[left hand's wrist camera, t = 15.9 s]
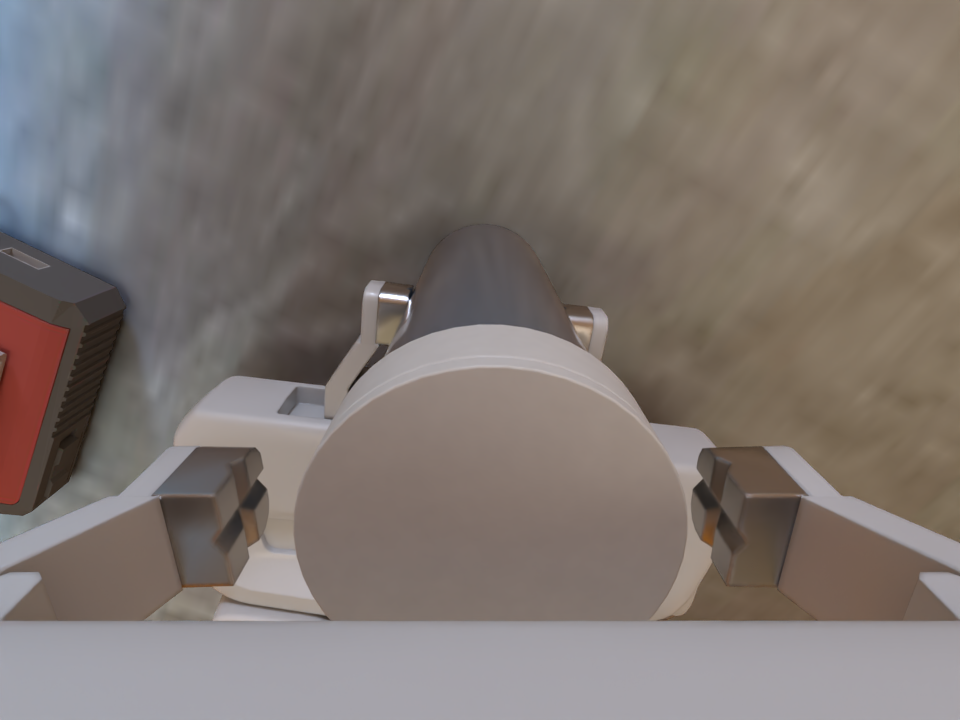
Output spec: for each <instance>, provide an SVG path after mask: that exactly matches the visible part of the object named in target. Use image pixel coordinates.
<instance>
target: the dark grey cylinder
mask: <svg viewBox="0 0 960 720" xmlns="http://www.w3.org/2000/svg"><path fill="white" fill-rule="evenodd" d="M471 325H509V326H517V327H524V328H529V329H533V330H537V331H541V332H544V333H548V334H551V335H554V336H556V337H558V338H561V339H563V340H566V341H568V342H571V343H573V344H574V345H576V346H578V347H580V348H581V349H583V350H585V351H586V352H587V350H586V348H585V346H584V345H583V343H582V341H581V339H580V337H579V335H578V333H577V331H576V329H575V327H574V325H573V324H572V322H571V320H570V318H569V316H568V314H567V312H566V310H565V308H564V306H563V305H562V303H561V301H560V299H559V297H558V295H557V293H556V291H555V289H554V287H553V285H552V284H551V282H550V280H549V278H548V276H547V274H546V272H545V270H544V268H543V266H542V265H541V263H540V261H539V259H538V257H537V255H536V253H535V252H534V250H533V249H532V248H531V246H530V245H529V244H528V243H527V242H526V241H525V240H524V239H523V238H522V237H520V236H519V235H518V234H516V233H514V232H512V231H511V230H508V229H506V228H503V227H500V226H496V225H489V224H478V225H471V226H467V227H464V228H461V229H459V230H457V231H455V232H453V233H451V234H450V235H448V236H447V237H446V238H444V239H443V240H442V241H441V242H440V243H439V244H438V245H437V246H436V247H435V249H434V250H433V252H432V253H431V255H430V257H429V259H428V261H427V263H426V265H425V267H424V270H423V272H422V274H421V276H420V278H419V281H418V283H417V285H416V287H415V289H414V291H413V294H412V296H411V298H410V300H409V302H408V305H407V307H406V309H405V311H404V313H403V316H402V318H401V320H400V322H399V324H398V326H397V329H396V331H395V333H394V335H393V337H392V340H391V342H390V344H389V346H388V348H387V351H386V353H385V355H384V357H385V356H386V355H388V354H389V353H391V352H392V351H394V350H396V349H398V348H400V347H401V346H403V345H405V344H407V343H409V342H411V341H413V340H416V339H418V338H421V337H423V336H426V335H428V334H431V333H435V332H439V331H442V330H446V329H450V328H454V327H462V326H471ZM384 357H383V358H384Z"/></svg>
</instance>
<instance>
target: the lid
mask: <svg viewBox="0 0 960 720" xmlns="http://www.w3.org/2000/svg"><path fill="white" fill-rule="evenodd" d="M687 522H688V514H687V507H686V501H685V494H684V491H683V488H682V484H681V481H680V478H679V475H678V472H677V470H676V468H675V466H674V464H673V462H672V460H671V458H670V456H669V455H668V453H667V451H666V449H665V448H664V446H663V444H662V443H661V441H660V440H659V438H658V436H657V435H656V433H655V431H654V430H653V428H652V426H651V425H650V423H649V422H648V420H647V418H646V417H645V415H644V413H643V412H642V410H641V409H640V407H639V405H638V404H637V402H636V400H635V399H634V397H633V396H632V395H631V393H630V392H629V390H628V389H627V388H626V386H625V385H624V384H623V382H622V381H621V380H620V379H619V378H618V377H617V376H616V375H615V374H614V373H613V372H612V371H611V370H610V369H609V368H608V367H607V366H606V365H604V364H603V363H602V362H600V361H599V360H598V359H597V358H595V357H594V356H593V355H591V354H590V353H588V352H586V351H585V350H583V349H581V348H580V347H578V346H576V345H574V344H573V343H571V342H568V341H566V340H563V339H561V338H558V337H556V336H554V335H551V334H548V333H544V332H541V331H537V330H533V329H529V328H524V327H517V326H509V325H471V326H462V327H454V328H450V329H446V330H442V331H439V332H435V333H431V334H428V335H426V336H423V337H421V338H418V339H416V340H413V341H411V342H409V343H407V344H405V345H403V346H401V347H400V348H398V349H396V350H394V351H392V352H391V353H389V354H388V355H386V356H385V357H384V358H382V359H381V360H380V361H378V362H377V363H376V364H374V365H373V366H372V367H371V368H370V369H369V370H368V371H367V372H366V373H365V374H364V375H363V376H362V377H361V378H360V379H359V380H358V381H357V382H356V383H355V385H354V386H353V387H352V388H351V390H350V391H349V392H348V394H347V395H346V396H345V398H344V400H343V401H342V403H341V405H340V407H339V409H338V411H337V412H336V414H335V416H334V418H333V420H332V422H331V424H330V425H329V427H328V429H327V431H326V433H325V435H324V437H323V438H322V440H321V442H320V444H319V446H318V448H317V450H316V451H315V453H314V455H313V457H312V459H311V461H310V463H309V464H308V466H307V468H306V470H305V472H304V475H303V478H302V481H301V484H300V486H299V489H298V492H297V498H296V503H295V509H294V529H293V535H294V542H295V549H296V555H297V559H298V562H299V566H300V569H301V572H302V575H303V578H304V580H305V582H306V584H307V586H308V588H309V590H310V592H311V594H312V596H313V597H314V599H315V600H316V602H317V603H318V605H319V606H320V608H321V609H322V611H323V612H324V613H325V614H326V616H327V617H328V618H329V619H330V620H331V621H648V620H649V619H650V618H651V617H652V616H653V615H654V614H655V613H656V611H657V610H658V608H659V607H660V606H661V604H662V603H663V601H664V600H665V599H666V597H667V596H668V594H669V592H670V590H671V588H672V586H673V584H674V582H675V580H676V578H677V575H678V573H679V570H680V567H681V564H682V561H683V558H684V552H685V547H686V541H687Z"/></svg>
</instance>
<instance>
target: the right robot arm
mask: <svg viewBox="0 0 960 720" xmlns="http://www.w3.org/2000/svg"><path fill="white" fill-rule="evenodd" d="M412 294H413V286H412V285H405V284H398V283H391V282H385V281H376V280H371V281H370V282H369V283H368V285H367V286H366V287H365V291H364V296H363V301H362V320H361V334H360V336H359V337H358V339H357V340H356V342H355V343H354V344H353V346H352V347H351V349H350V350H349V351H348V353H347V354H346V356H345V357H344V358H343V360H342V361H341V363H340V364H339V366H338V367H337V369H336V370H335V372H334V373H333V375H332V377H331V378H330V380H329V381H328V383H327V384H326V386H323V385H314V384H306V383H297V382H288V381H280V380H271V379H262V378H254V377H246V376H232V377H229V378H227V379H225V380H224V381H222V382H221V383H220V384H219V385H217V386H216V387H215V388H214V389H212V390H211V391H210V392H209V393H207V394H206V395H205V396H204V397H203V398H202V399H201V400H199V401H198V402H197V403H196V404H195V405H194V407H193V408H192V409H191V410H190V411H189V412H188V413H187V414H186V415H185V417H184V418H183V419H182V421H181V422H180V424H179V426H178V427H177V430H176V432H175V435H174V444H173V447H175V446H201V447H202V446H216V447H256V448H257V449H258V451H259V452H260V453H261V458H262V462H263V467H264V469H263V470H262V472H261V473H260V475H259V476H258V478H257V479H258V480H259V481H260V482H261V483H262V484H263V485H264V486H265V487H266V488H267V490H268V497H269V515H268V520H267V524H266V528H265V530H264V532H263V534H262V536H261V538H260V540H259V541H257V542H256V543H254V544H253V545H251V546H250V547H248V552H249V560H248V561H247V563H246V565H245V567H244V569H243V570H242V572H241V574H240V576H239V577H238V579H237V581H236V583H235V584H234V586H217V587H213V588H214V589H215V590H216V591H218V592H219V593H221V594H223V595H222V597H221V599H220V602H219V604H218V607H217V610H216V612H215V615H214V617H213V620H212V621H331V620H330V619H329V618H328V617H327V616H326V614H325V613H324V612H323V611H322V609H321V608H320V606H319V605H318V603H317V602H316V600H315V599H314V597H313V596H312V594H311V592H310V590H309V588H308V586H307V584H306V582H305V580H304V578H303V575H302V572H301V569H300V566H299V562H298V559H297V555H296V549H295V542H294V535H293V529H294V509H295V503H296V498H297V492H298V489H299V486H300V484H301V481H302V478H303V475H304V472H305V470H306V468H307V466H308V464H309V463H310V461H311V459H312V457H313V455H314V453H315V451H316V450H317V448H318V446H319V444H320V442H321V440H322V438H323V437H324V435H325V433H326V431H327V429H328V427H329V425H330V424H331V422H332V420H333V418H334V416H335V414H336V412H337V411H338V409H339V407H340V405H341V403H342V401H343V400H344V398H345V396H346V395H347V394H348V392H349V391H350V390H351V388H352V387H353V386H354V385H355V383H356V382H357V381H358V380H359V379H360V378H361V377H362V376H363V375H364V374H365V373H366V372H367V371H368V370H369V369H370V368H367V367H364V366H365V365H366V364H367V362H368V361H369V359H370V358H371V357H372V355H373V354H374V352H375V351H376V350H377V348H378V347H379V345H380V344H382V345H389V344H390V342H391V340H392V337H393V335H394V333H395V331H396V329H397V326H398V324H399V322H400V320H401V318H402V316H403V313H404V311H405V309H406V307H407V305H408V302H409V300H410V298H411V296H412ZM562 305H563V306H564V308H565V310H566V312H567V314H568V316H569V318H570V320H571V322H572V324H573V325H574V327H575V329H576V331H577V333H578V335H579V337H580V339H581V341H582V343H583V345H584V346H585V348H586V350H587V352H588V353H590V354H591V355H593V356H594V357H595V358H597V359H598V360H599V361H600V362H601V360H602V355H603V351H604V346H605V342H606V337H607V333H608V317H607V315H606V314H605V313H604V311H603V310H602V309H601V308H595V307H587V306H578V305H569V304H562ZM650 425H651V426H652V428H653V430H654V431H655V433H656V435H657V436H658V438H659V440H660V441H661V443H662V444H663V446H664V448H665V449H666V451H667V453H668V455H669V456H670V458H671V460H672V462H673V464H674V466H675V468H676V470H677V472H678V475H679V478H680V481H681V484H682V488H683V491H684V494H685V501H686V507H687V514H688V522H687V541H686V547H685V552H684V558H683V561H682V564H681V567H680V570H679V573H678V575H677V578H676V580H675V582H674V584H673V586H672V588H671V590H670V592H669V594H668V596H667V597H666V599H665V600H664V601H663V603H662V604H661V606H660V607H659V608H658V610H657V611H656V613H655V614H654V615H653V616H652V617H651V618H650V619H649V620H648V621H663V620H667V619H669V618H672V617H674V616H680V615H683V614H685V613H686V612H687V611H688V609H689V608H690V606H691V605H692V603H693V600H694V597H695V594H696V591H697V589H698V586H699V584H700V583H701V581H702V579H703V578H704V576H705V574H706V573H707V571H708V569H709V568H710V566H711V564H712V562H713V561H712V560H711V552H712V547H710V546H709V545H707V544H706V543H704V542H703V541H701V540H700V538H699V536H698V534H697V532H696V531H695V528H694V524H693V521H692V514H691V498H692V490H693V488H694V487H695V486H696V485H697V484H698V483H699V482H700V481H701V480H702V479H703V478H702V476H701V475H700V473H699V472H698V470H697V469H696V467H697V462H698V456H699V454H700V452H701V450H702V448H717V447H716V446H715V445H714V444H713V443H712V441H711V440H710V439H709V438H708V437H707V436H706V435H705V434H704V433H703V432H702V431H700V430H698V429H695V428H690V427H682V426H673V425H665V424H656V423H650Z"/></svg>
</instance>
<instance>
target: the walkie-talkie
mask: <svg viewBox="0 0 960 720" xmlns="http://www.w3.org/2000/svg"><path fill="white" fill-rule="evenodd" d="M125 308H126V306H125V304H124V302H123V300H122V298H121V296H120V294H119V292H118V290H117V288H116V287H114V286H112V285H110V284H108V283H106V282H104V281H102V280H100V279H98V278H96V277H94V276H92V275H89V274H87V273H85V272H83V271H81V270H79V269H77V268H75V267H73V266H71V265H69V264H67V263H65V262H62V261H60V260H58V259H56V258H54V257H52V256H50V255H48V254H46V253H44V252H42V251H40V250H38V249H35V248H33V247H31V246H29V245H27V244H25V243H23V242H21V241H19V240H17V239H15V238H13V237H10V236H8V235H6V234H4V233H2V232H0V513H1V514H10V515H21V516H23V515H25V514H27V513H30V512H32V511H33V510H34V509H35V508H37V507H38V506H39V505H40V504H42V503H43V502H44V501H45V500H46V499H48V498H49V497H50V496H52V495H53V494H54V493H55V492H56V491H58V490H59V489H60V488H61V487H63V486H64V485H65V484H66V483H67V482H69V479H70V476H71V473H72V470H73V467H74V464H75V461H76V458H77V455H78V452H79V449H80V446H81V443H82V440H83V437H84V434H85V430H86V427H87V424H88V421H89V418H90V415H91V411H90V410H91V408H92V407H93V406H94V402H93V401H94V399H95V398H96V397H97V393H96V392H97V389H99V388H100V380H101V379H103V374H102V373H103V370H105V369H106V367H107V366H106V361H107V360H108V359H109V358H110V356H109V352H110V350H112V348H113V345H112V343H113V340H115V339H116V331H117V330H118V329H119V327H120V326H119V322H120V320H121V319H122V318H123V314H122V312H123V309H125Z"/></svg>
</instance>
